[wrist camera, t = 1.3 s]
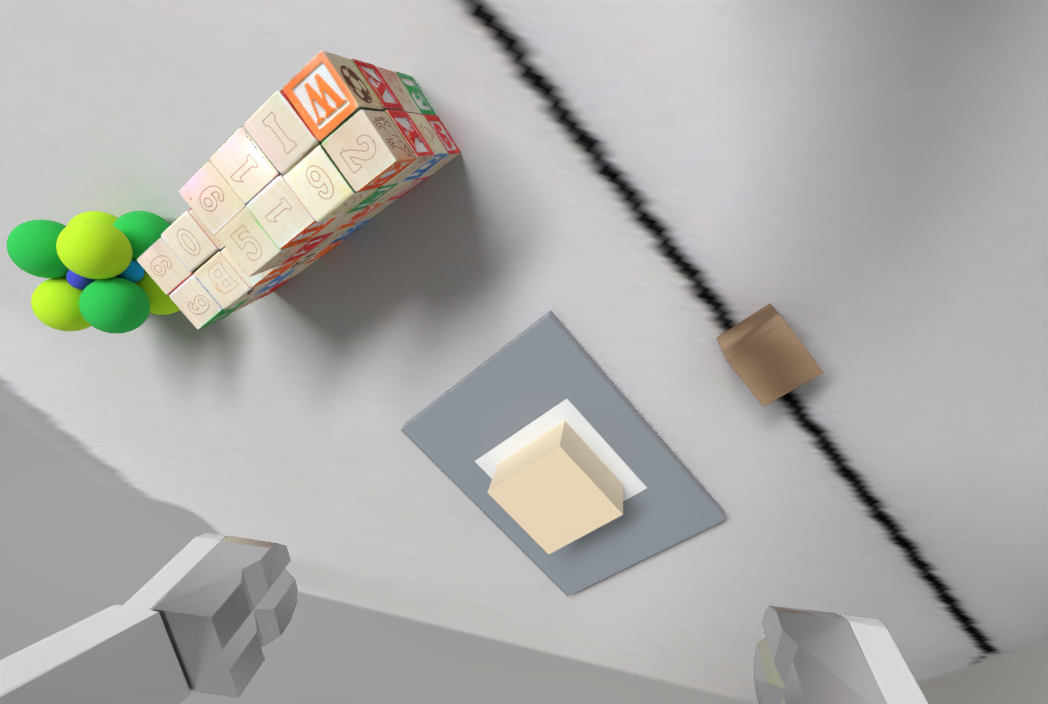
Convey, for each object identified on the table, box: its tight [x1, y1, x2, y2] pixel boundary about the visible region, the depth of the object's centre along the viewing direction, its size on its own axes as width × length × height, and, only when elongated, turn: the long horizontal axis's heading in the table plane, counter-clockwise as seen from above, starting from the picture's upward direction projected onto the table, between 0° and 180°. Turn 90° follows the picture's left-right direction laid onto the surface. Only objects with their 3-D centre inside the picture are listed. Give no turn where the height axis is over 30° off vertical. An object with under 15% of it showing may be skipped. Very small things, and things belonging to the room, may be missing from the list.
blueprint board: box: [401, 311, 726, 597], centre depth 45 cm, size 18×24×5 cm
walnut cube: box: [717, 304, 824, 407], centre depth 37 cm, size 4×4×4 cm
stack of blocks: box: [137, 51, 460, 329], centre depth 35 cm, size 21×6×12 cm, turn 124°
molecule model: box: [7, 211, 180, 333], centre depth 42 cm, size 9×9×9 cm
